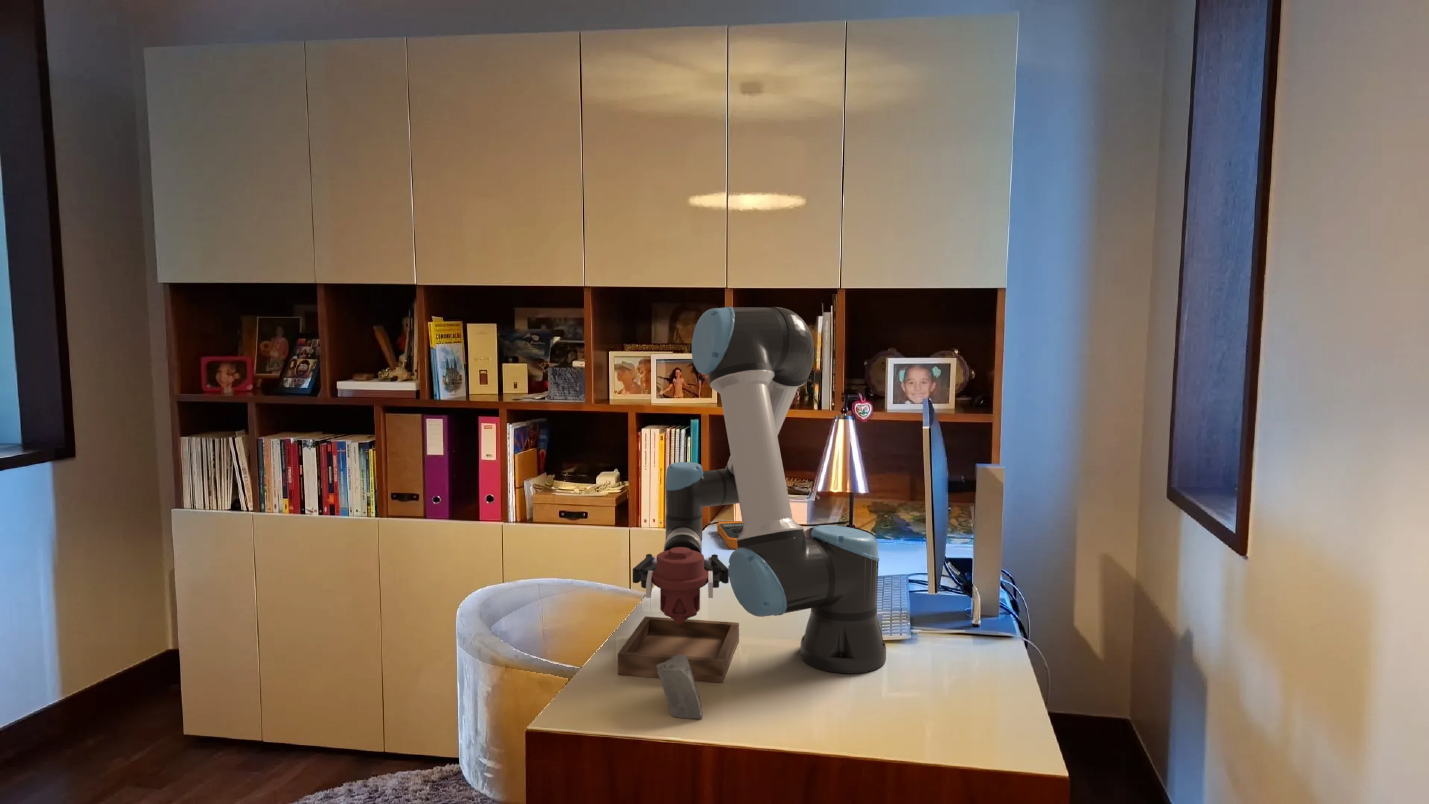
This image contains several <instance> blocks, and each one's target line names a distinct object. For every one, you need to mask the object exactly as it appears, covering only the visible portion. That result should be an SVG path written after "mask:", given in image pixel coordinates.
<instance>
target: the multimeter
mask: <svg viewBox="0 0 1429 804" xmlns="http://www.w3.org/2000/svg"><path fill="white" fill-rule="evenodd" d="M716 529H717V530H716V531H717V533H718V535H719V536H721V538H722V539H723V541H724V543H725V544H726V546H727V548H729V549H730V550H734V551H735V550H736V549H738V545H737V538H738V536H739V535H740V533H741V532H742V530H743V522H742V520H736V521H735V520H733V521H719V522H718V523H716Z"/></svg>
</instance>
